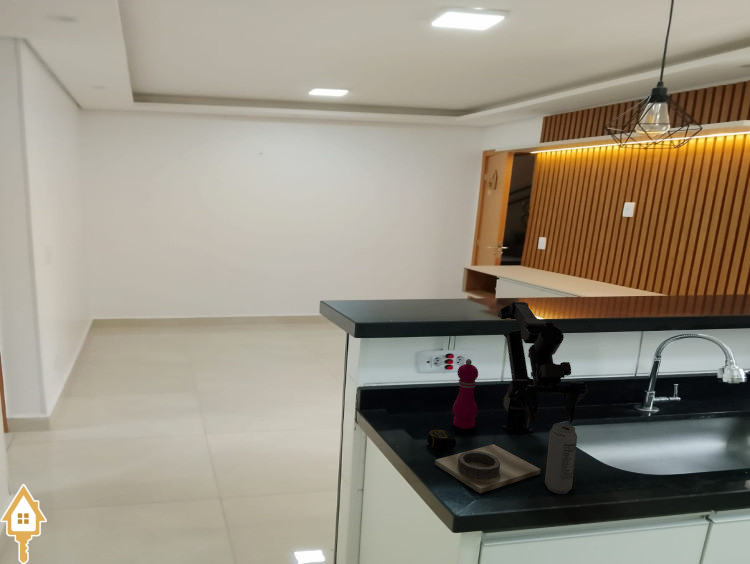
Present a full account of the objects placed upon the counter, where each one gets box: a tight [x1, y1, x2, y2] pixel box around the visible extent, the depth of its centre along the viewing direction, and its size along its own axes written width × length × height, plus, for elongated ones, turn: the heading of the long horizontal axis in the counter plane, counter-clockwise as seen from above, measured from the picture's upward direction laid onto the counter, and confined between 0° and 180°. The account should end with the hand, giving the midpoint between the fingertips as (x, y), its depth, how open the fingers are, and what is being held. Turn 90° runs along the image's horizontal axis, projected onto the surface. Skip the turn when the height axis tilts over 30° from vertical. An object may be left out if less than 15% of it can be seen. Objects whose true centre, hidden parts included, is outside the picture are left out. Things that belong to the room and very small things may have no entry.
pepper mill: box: [452, 358, 479, 430], centre depth 166 cm, size 7×7×20 cm
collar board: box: [434, 443, 541, 494], centre depth 139 cm, size 20×16×4 cm
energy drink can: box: [544, 422, 578, 495], centre depth 131 cm, size 6×6×15 cm
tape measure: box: [426, 429, 457, 451], centre depth 151 cm, size 7×7×4 cm
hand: (552, 422), depth 137 cm, fingers open, 9 cm apart
